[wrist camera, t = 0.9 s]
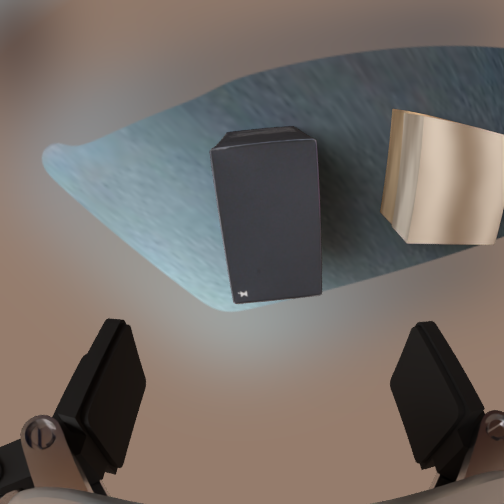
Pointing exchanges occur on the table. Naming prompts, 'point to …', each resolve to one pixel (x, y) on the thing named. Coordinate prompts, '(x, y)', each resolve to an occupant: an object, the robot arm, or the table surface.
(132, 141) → the table surface
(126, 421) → the robot arm
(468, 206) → the ash slab
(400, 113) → the oak slab
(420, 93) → the table surface
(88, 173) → the table surface
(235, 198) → the small box
